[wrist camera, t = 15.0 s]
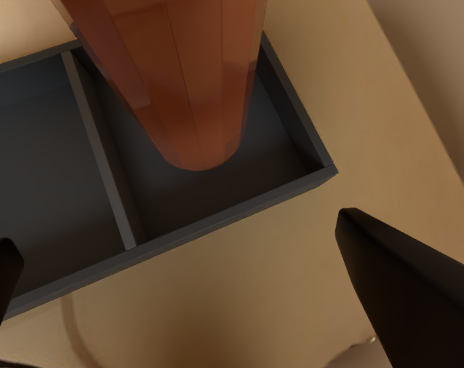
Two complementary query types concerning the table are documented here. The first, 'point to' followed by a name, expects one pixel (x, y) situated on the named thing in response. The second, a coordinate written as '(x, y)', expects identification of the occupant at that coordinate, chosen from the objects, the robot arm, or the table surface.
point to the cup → (176, 68)
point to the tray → (128, 172)
